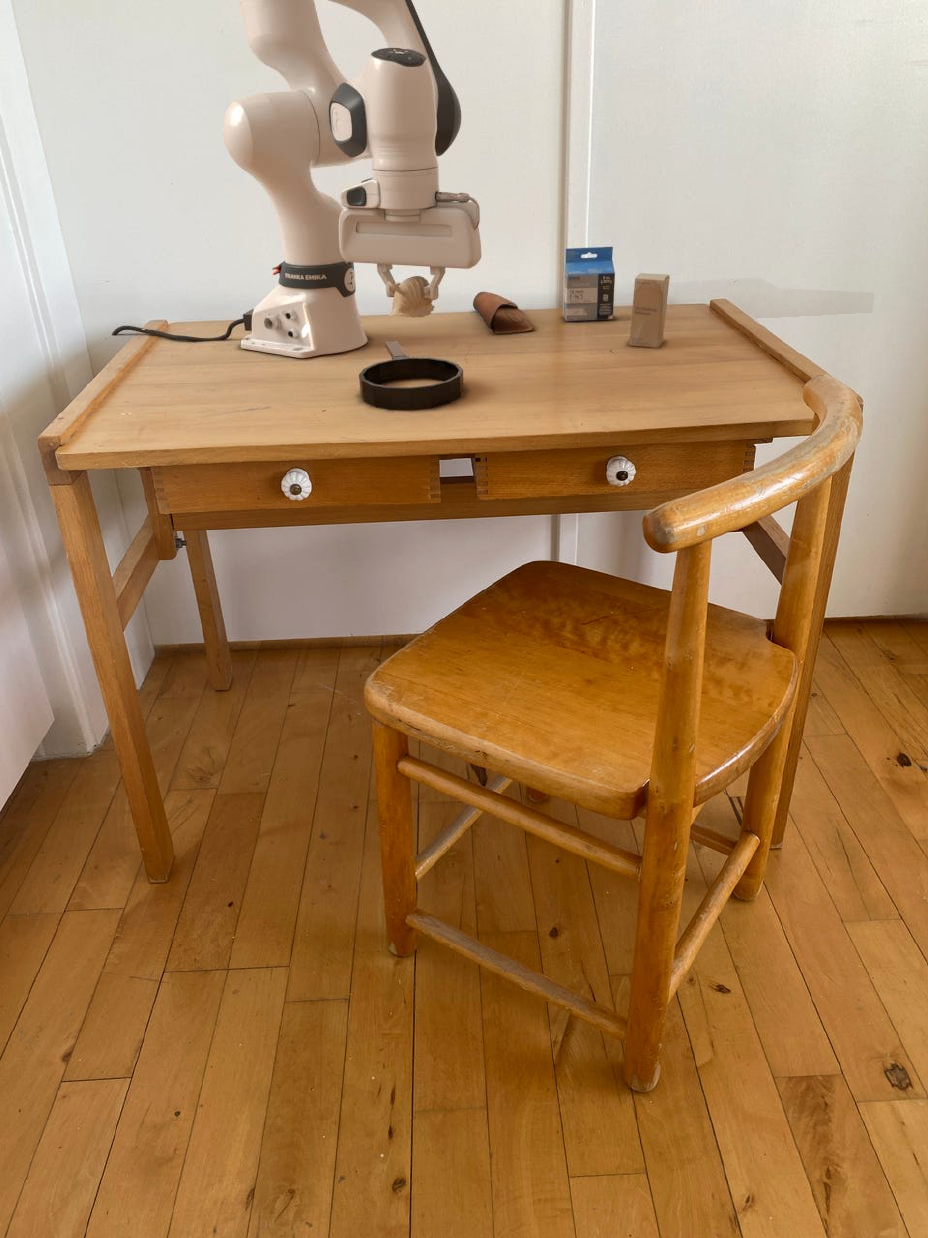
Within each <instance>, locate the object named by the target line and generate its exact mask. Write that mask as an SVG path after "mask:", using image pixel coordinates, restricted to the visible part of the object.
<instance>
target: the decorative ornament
mask: <svg viewBox="0 0 928 1238" xmlns="http://www.w3.org/2000/svg"><path fill="white" fill-rule="evenodd" d="M429 284H430V283H429V281H428V279H426V278H425V277H424V276H421V275H414V276H410V277H408V278H406V279H404V280H403V281H402V282H400V285H399V286H398V285H396V284H395V283H393V282H391V281H388V285H389V286H390V287H391V288H392V289H394V290H395V291H396V292H395V295H394V297H392V306H391V311H390V313H389V315H388V317H394V316H396V317H397V316H399V317H406V318H424V317H426V316H427V317H428V316H430V315H431V314H432V312H433V311H434V310H435V305H434V304H433V301H434V300H425V298H424V295H425V293H424V287H425V286H427V285H429Z"/></svg>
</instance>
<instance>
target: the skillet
mask: <svg viewBox="0 0 928 1238" xmlns="http://www.w3.org/2000/svg"><path fill="white" fill-rule="evenodd" d="M384 347H385V349H386V352H387V353H388V354H389V356H390V357H391V359H389V360H384V361H379V362H376V363H372V364H371V365H368V366H366V367H365V368H363V369H362V370H361V372H360V373H359V374H358V379H359V389H360V390H359V391H360V397H361V398H362V401H363V402H364V403H365V404H367V405H370V406H372V407H374V408H379V409H385V410H390V411H417V410H418V411H419V410H427V409H432V408H437V407H442V406H445V405H450V404H452V403H453V402H455V401H457V400H458V399H460V398H461V397H462V395H463V394H464V391H465V387H464V386H465V385H464V369H463V368H462V367H461V365H460V364H459V363H456V362H453V361H452V360H448V359H443V358H435V357H410V356H409V355H407V354H406V352H405V351H404V350H403V348H402V347H401V345H400V344H399V341H397V340H391V341H384ZM404 380H405V381H406V380H434V381H435V380H436V381H440V382H437V383H433V384H428V385H427V384H426V385H419V386H411V387H410V386H388V385H383V384H387V383H391V382H394V381H404Z"/></svg>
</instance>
